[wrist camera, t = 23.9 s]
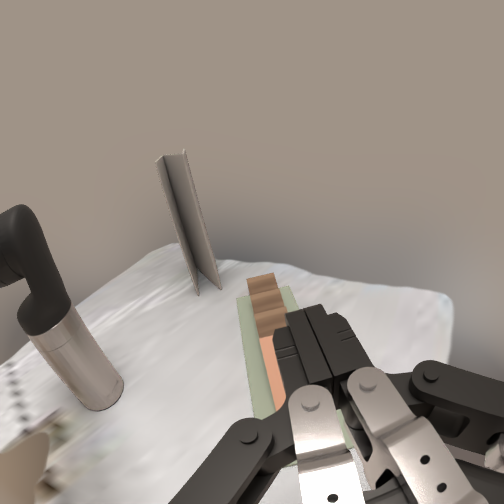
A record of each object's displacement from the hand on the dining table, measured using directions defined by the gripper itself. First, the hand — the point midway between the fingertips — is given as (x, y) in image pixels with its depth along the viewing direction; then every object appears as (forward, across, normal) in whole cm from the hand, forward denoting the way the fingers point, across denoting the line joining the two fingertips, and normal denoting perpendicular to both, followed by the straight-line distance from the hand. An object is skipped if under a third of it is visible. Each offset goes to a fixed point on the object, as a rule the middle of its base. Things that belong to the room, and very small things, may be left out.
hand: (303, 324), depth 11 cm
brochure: (+51, +12, +26) cm, 59 cm away
